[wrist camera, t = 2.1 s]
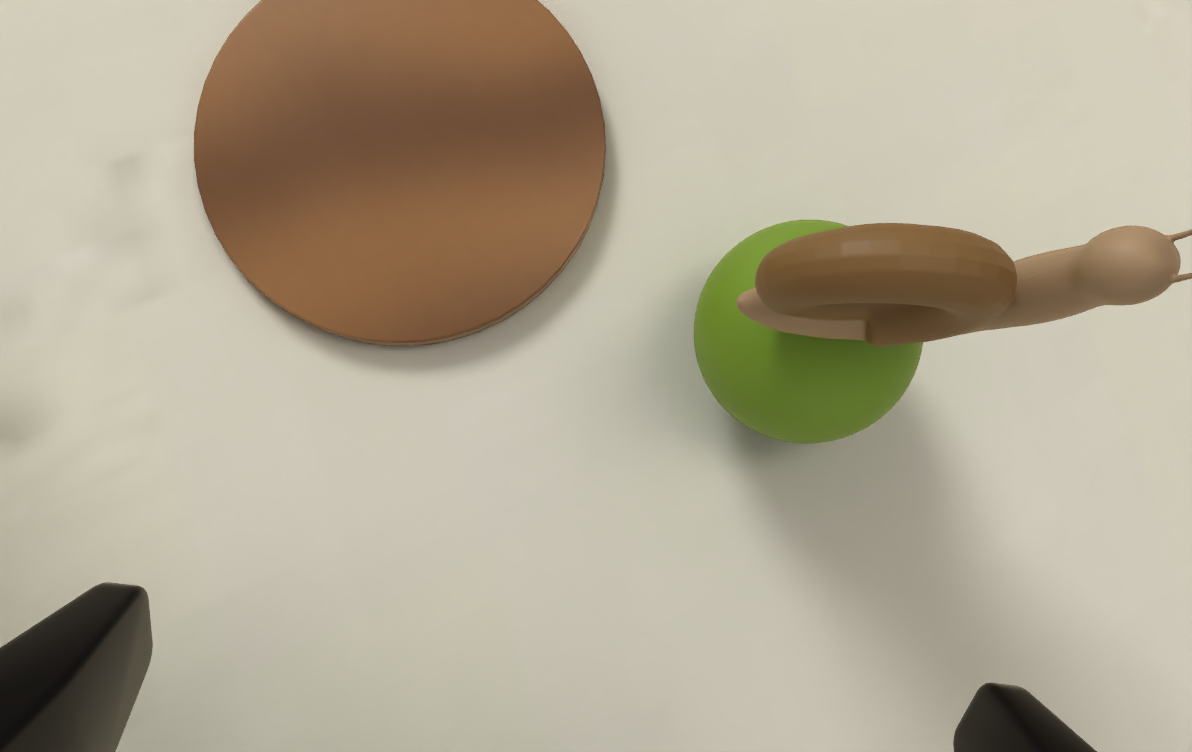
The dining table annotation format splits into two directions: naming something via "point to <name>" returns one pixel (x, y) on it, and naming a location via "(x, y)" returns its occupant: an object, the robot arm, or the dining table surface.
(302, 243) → the plate
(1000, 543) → the dining table surface
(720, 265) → the snail figurine
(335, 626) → the dining table surface
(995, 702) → the robot arm
